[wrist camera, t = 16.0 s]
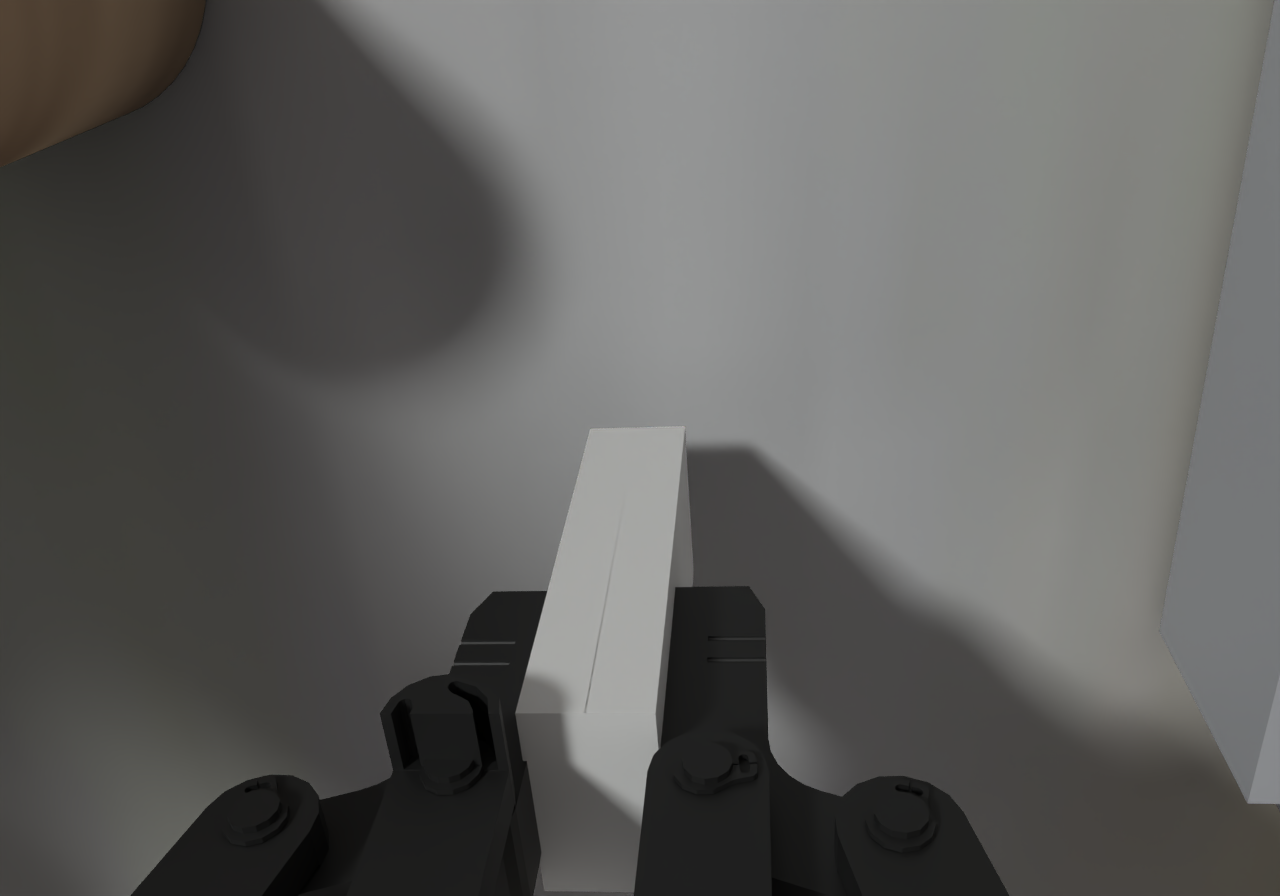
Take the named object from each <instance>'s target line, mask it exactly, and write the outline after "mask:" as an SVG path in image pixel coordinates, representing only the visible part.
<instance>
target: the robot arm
mask: <svg viewBox="0 0 1280 896" xmlns="http://www.w3.org/2000/svg"><path fill="white" fill-rule="evenodd" d="M693 574H694V567H693V551H692V534H691V517H690V501H689V484H688V467H687V451H686V434H685V426H673V427H635V428H598V429H590V431H589V435H588V439H587V443H586V447H585V450H584V454H583V458H582V462H581V466H580V469H579V473H578V477H577V481H576V485H575V488H574V492H573V496H572V500H571V504H570V507H569V511H568V515H567V519H566V523H565V526H564V530H563V534H562V538H561V541H560V545H559V549H558V553H557V557H556V560H555V564H554V568H553V572H552V576H551V579H550V583H549V587H548V591H508V592H492V593H491V594H490V595H489V596H488V597H487V598H486V599H485V600H484V601H483V602H482V603H481V604H480V605H479V606H478V607H477V608H476V610H475V611H474V612H473V613H472V614H471V615H470V617H469V620H468V623H467V626H466V629H465V631H464V634H463V637H462V640H461V641H462V644H461V645H460V646H459V648H458V651H457V654H456V657H455V660H454V666H452V668H451V671H450V674H448V675H440V676H432V677H428V678H426V679H423V680H421V681H418V682H416V683H413V684H410V685H408V686H407V687H405V688H404V689H403V690H401V691H400V692H399V693H397V694H396V695H394V696H393V697H392V698H391V699H390V700H389V702H388V703H387V704H386V706H385V707H384V709H383V710H382V712H381V713H380V716H381V720H382V725H383V729H384V733H385V737H386V741H387V746H388V750H389V754H390V758H391V763H392V767H393V773H392V775H391V778H389V779H387V780H385V781H383V782H381V783H380V784H377V785H374V786H371V787H368V788H365V789H362V790H359V791H355V792H351V793H347V794H343V795H339V796H335V797H330V798H326V799H322V800H319V796H318V795H317V793H316V792H315V790H314V789H313V788H312V786H311V785H310V784H309V783H308V782H306V781H304V780H301V779H299V778H297V777H294V776H290V775H267V776H263V777H259V778H255V779H251V780H247V781H245V782H243V783H241V784H239V785H237V786H235V787H233V788H231V789H229V790H227V791H225V792H224V793H223V794H222V795H220V796H219V797H218V798H217V799H216V800H215V801H214V802H212V803H211V804H210V805H209V806H208V807H207V808H206V809H205V810H204V811H203V812H202V813H201V815H200V816H199V817H198V818H197V819H196V820H195V822H194V823H193V824H192V825H191V826H190V827H189V828H188V830H187V831H186V832H185V833H184V834H183V835H182V837H181V838H180V839H179V840H178V841H177V842H176V844H175V845H174V846H173V847H172V848H171V849H170V850H169V852H168V853H167V854H166V855H165V856H164V857H163V859H162V860H161V861H160V862H159V863H158V864H157V865H156V867H155V868H154V869H153V870H152V871H151V872H150V874H149V875H148V876H147V877H146V878H145V879H144V881H143V882H142V883H141V884H140V885H139V886H138V887H137V889H136V890H135V891H134V892H133V893H132V894H131V896H533V893H534V888H535V883H536V878H537V873H538V868H539V863H540V869H541V875H542V881H543V887H544V891H565V892H620V893H634V896H1009V894H1008V893H1007V891H1006V889H1005V887H1004V885H1003V883H1002V882H1001V880H1000V878H999V876H998V874H997V873H996V871H995V869H994V867H993V865H992V863H991V862H990V860H989V858H988V856H987V854H986V852H985V851H984V849H983V847H982V845H981V843H980V842H979V840H978V838H977V836H976V834H975V832H974V831H973V829H972V827H971V825H970V823H969V821H968V820H967V818H966V816H965V814H964V812H963V811H962V810H961V809H960V808H959V806H958V805H957V804H956V803H955V802H954V800H953V799H952V798H951V797H950V796H949V795H948V794H946V793H945V792H943V791H941V790H940V789H938V788H936V787H935V786H933V785H931V784H930V783H928V782H924V781H920V780H916V779H912V778H909V777H905V776H887V777H876V778H873V779H871V780H868V781H865V782H862V783H859V784H857V785H856V786H854V787H853V788H852V789H851V790H850V791H849V792H847V793H846V794H845V795H844V796H843V797H841V796H837V795H833V794H830V793H826V792H822V791H819V790H817V789H814V788H811V787H809V786H806V785H804V784H802V783H800V782H799V781H797V780H796V779H794V778H792V777H791V776H789V775H788V774H787V773H786V772H785V771H784V770H783V769H782V768H781V767H780V766H779V765H778V764H777V762H776V760H775V758H774V757H773V755H772V753H771V750H770V745H769V740H768V711H767V672H766V632H765V609H764V607H763V606H762V604H761V603H760V602H759V600H758V599H757V597H756V596H755V594H754V593H753V592H752V590H751V589H750V587H749V586H735V587H693Z"/></svg>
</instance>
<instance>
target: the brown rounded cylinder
mask: <svg viewBox="0 0 1280 896" xmlns="http://www.w3.org/2000/svg"><path fill="white" fill-rule="evenodd" d="M205 2H206V0H0V167H2V166H5V165H7V164H9V163H12V162H14V161H17V160H19V159H21V158H24V157H26V156H28V155H31V154H33V153H36V152H38V151H40V150H43V149H45V148H47V147H50V146H52V145H55V144H57V143H59V142H62V141H64V140H66V139H69V138H71V137H74V136H76V135H78V134H81V133H83V132H86V131H88V130H90V129H93V128H95V127H97V126H100V125H102V124H105V123H107V122H109V121H112V120H114V119H116V118H119V117H121V116H124V115H126V114H128V113H130V112H132V111H134V110H137V109H139V108H141V107H143V106H144V105H146V104H147V103H149V102H150V101H152V100H153V99H155V98H156V97H157V96H159V95H160V94H161V93H162V92H163V91H164V90H165V89H166V88H167V87H168V86H169V85H170V84H171V83H172V82H173V81H174V80H175V78H176V77H177V76H178V74H179V73H180V72H181V70H182V69H183V68H184V66H185V64H186V62H187V60H188V59H189V57H190V55H191V53H192V51H193V49H194V46H195V44H196V41H197V38H198V35H199V32H200V29H201V25H202V20H203V15H204V10H205Z"/></svg>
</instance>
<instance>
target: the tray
mask: <svg viewBox="0 0 1280 896" xmlns="http://www.w3.org/2000/svg"><path fill="white" fill-rule="evenodd" d="M1159 632H1160V634H1161V636H1162V638H1163V640H1164V642H1165V644H1166V646H1167V647H1168V649H1169V651H1170V653H1171V655H1172V657H1173V659H1174V661H1175V663H1176V665H1177V667H1178V669H1179V671H1180V673H1181V675H1182V677H1183V679H1184V681H1185V683H1186V685H1187V686H1188V688H1189V690H1190V692H1191V694H1192V696H1193V698H1194V700H1195V702H1196V704H1197V706H1198V708H1199V710H1200V712H1201V714H1202V716H1203V718H1204V720H1205V722H1206V723H1207V725H1208V727H1209V729H1210V731H1211V733H1212V735H1213V737H1214V739H1215V741H1216V743H1217V745H1218V747H1219V749H1220V751H1221V753H1222V755H1223V757H1224V759H1225V761H1226V762H1227V764H1228V766H1229V768H1230V770H1231V772H1232V774H1233V776H1234V778H1235V780H1236V782H1237V784H1238V786H1239V788H1240V790H1241V792H1242V794H1243V796H1244V798H1245V800H1246V801H1247V803H1250V804H1280V0H1275V1H1274V6H1273V12H1272V17H1271V22H1270V28H1269V33H1268V39H1267V44H1266V50H1265V55H1264V61H1263V66H1262V72H1261V77H1260V83H1259V88H1258V94H1257V99H1256V105H1255V110H1254V116H1253V121H1252V127H1251V132H1250V137H1249V143H1248V148H1247V154H1246V159H1245V165H1244V170H1243V176H1242V181H1241V187H1240V192H1239V198H1238V203H1237V209H1236V214H1235V220H1234V225H1233V231H1232V236H1231V241H1230V247H1229V252H1228V258H1227V263H1226V269H1225V274H1224V280H1223V285H1222V291H1221V296H1220V302H1219V307H1218V313H1217V318H1216V324H1215V329H1214V335H1213V340H1212V346H1211V351H1210V356H1209V362H1208V367H1207V373H1206V378H1205V384H1204V389H1203V395H1202V400H1201V406H1200V411H1199V417H1198V422H1197V428H1196V433H1195V439H1194V444H1193V450H1192V455H1191V460H1190V466H1189V471H1188V477H1187V482H1186V488H1185V493H1184V499H1183V504H1182V510H1181V515H1180V521H1179V526H1178V532H1177V537H1176V543H1175V548H1174V554H1173V559H1172V565H1171V570H1170V575H1169V581H1168V586H1167V592H1166V597H1165V603H1164V608H1163V614H1162V619H1161V625H1160V630H1159Z"/></svg>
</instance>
